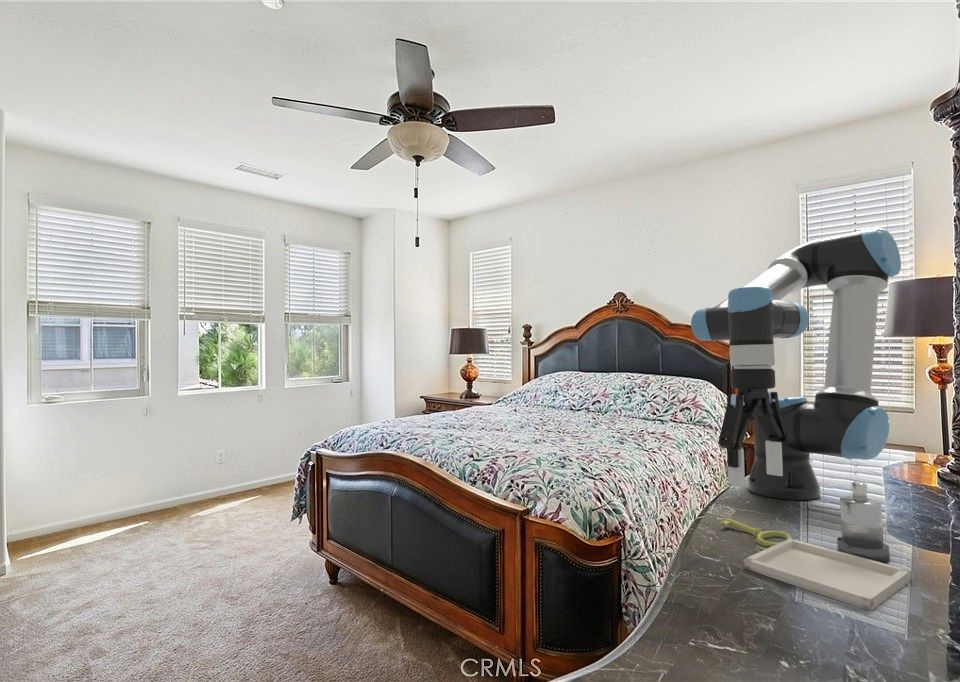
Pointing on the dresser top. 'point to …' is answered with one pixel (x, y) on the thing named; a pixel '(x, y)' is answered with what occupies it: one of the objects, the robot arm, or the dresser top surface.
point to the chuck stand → (862, 526)
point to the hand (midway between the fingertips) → (756, 480)
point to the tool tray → (830, 572)
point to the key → (757, 532)
